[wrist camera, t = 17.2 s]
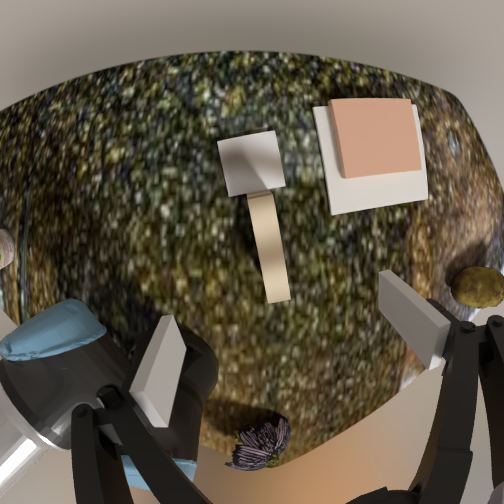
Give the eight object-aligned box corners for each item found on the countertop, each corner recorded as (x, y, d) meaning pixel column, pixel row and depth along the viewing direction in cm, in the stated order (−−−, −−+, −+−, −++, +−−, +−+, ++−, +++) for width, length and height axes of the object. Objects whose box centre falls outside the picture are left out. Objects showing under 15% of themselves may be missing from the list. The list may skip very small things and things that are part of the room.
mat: (330, 214, 34) (331, 215, 34) (312, 108, 30) (313, 107, 29) (425, 198, 34) (428, 198, 33) (413, 105, 29) (415, 104, 29)
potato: (459, 249, 37) (489, 266, 29) (491, 266, 38) (516, 281, 31) (441, 292, 39) (467, 313, 32) (475, 302, 41) (497, 321, 33)
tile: (345, 178, 31) (331, 99, 28) (341, 178, 32) (327, 101, 29) (421, 170, 30) (410, 99, 27) (415, 169, 32) (404, 100, 29)
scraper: (298, 273, 37) (309, 295, 31) (248, 283, 37) (249, 307, 31) (274, 130, 31) (281, 123, 25) (217, 141, 31) (211, 136, 25)
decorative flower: (285, 479, 42) (222, 487, 35) (262, 447, 52) (204, 448, 46) (316, 435, 42) (249, 442, 35) (286, 404, 52) (225, 402, 46)
